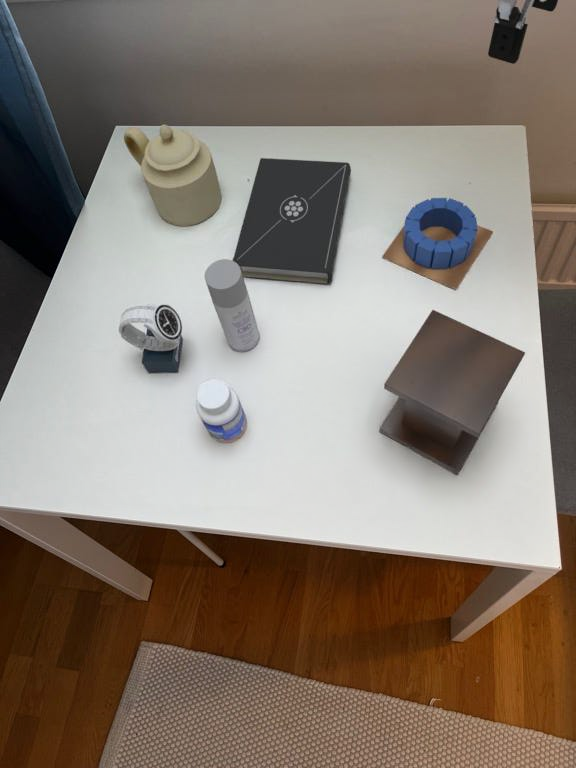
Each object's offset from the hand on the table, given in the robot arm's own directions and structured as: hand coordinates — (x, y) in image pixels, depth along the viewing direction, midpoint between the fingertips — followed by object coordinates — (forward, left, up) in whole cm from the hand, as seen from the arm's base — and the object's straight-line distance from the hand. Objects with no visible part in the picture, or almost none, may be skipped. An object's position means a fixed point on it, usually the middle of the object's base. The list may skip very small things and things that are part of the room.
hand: (521, 32), depth 63 cm
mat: (+2, +8, -28) cm, 29 cm away
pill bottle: (+12, +48, -28) cm, 57 cm away
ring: (+2, +8, -28) cm, 29 cm away
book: (+23, +15, -28) cm, 40 cm away
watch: (+26, +44, -28) cm, 59 cm away
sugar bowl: (+43, +20, -28) cm, 55 cm away
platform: (-11, +33, -28) cm, 45 cm away
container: (+18, +36, -28) cm, 49 cm away
